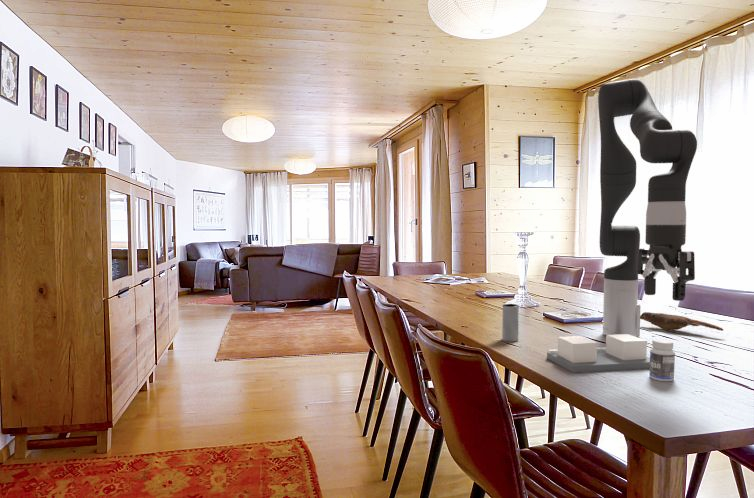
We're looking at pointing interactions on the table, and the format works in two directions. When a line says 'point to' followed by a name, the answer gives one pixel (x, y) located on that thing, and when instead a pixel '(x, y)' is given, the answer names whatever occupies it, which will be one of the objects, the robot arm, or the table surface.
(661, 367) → the pill bottle
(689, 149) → the robot arm
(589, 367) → the rail board
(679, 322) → the bird sculpture
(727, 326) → the table surface
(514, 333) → the planter
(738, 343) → the table surface
